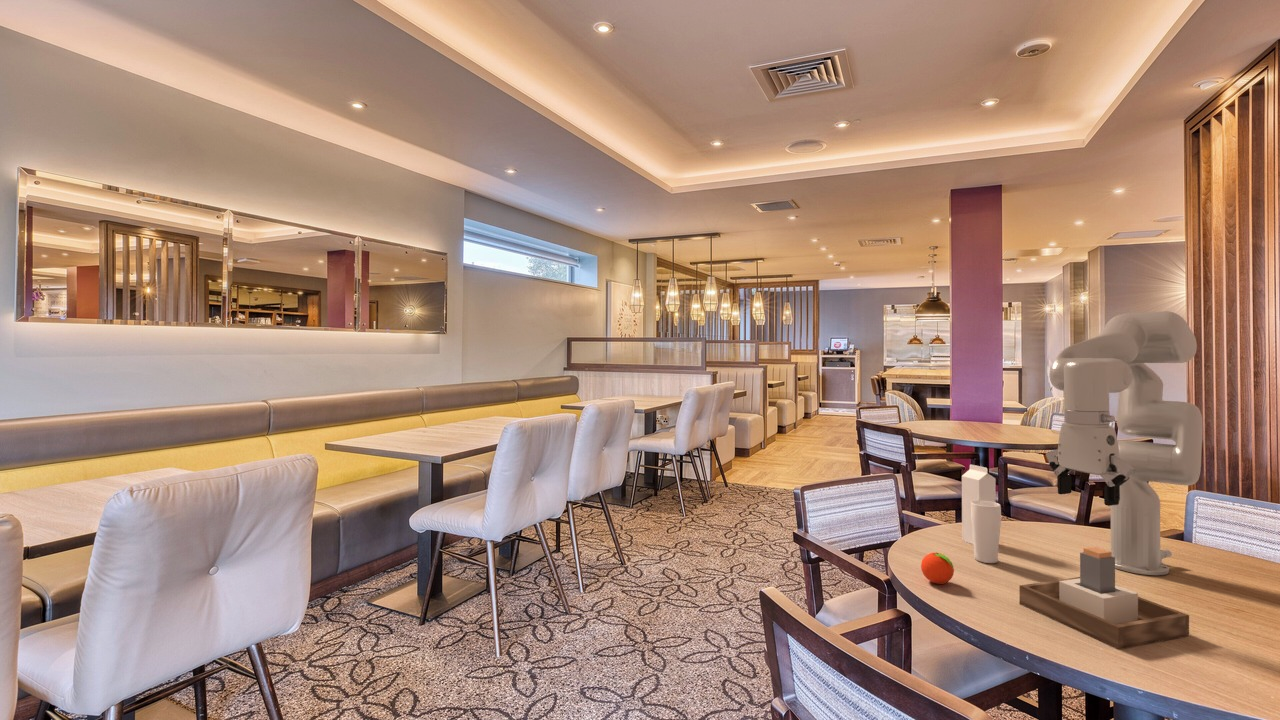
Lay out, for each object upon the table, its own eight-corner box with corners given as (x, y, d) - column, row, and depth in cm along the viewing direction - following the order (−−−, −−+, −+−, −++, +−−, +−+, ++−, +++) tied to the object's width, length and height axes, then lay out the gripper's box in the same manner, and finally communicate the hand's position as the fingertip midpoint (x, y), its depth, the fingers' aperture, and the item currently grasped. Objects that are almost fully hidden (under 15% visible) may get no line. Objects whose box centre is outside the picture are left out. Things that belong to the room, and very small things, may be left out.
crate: (1083, 594, 128) (1083, 576, 128) (1189, 636, 109) (1189, 615, 109) (1019, 603, 124) (1019, 585, 124) (1118, 649, 104) (1118, 627, 104)
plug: (1095, 598, 120) (1094, 546, 120) (1115, 606, 116) (1115, 552, 116) (1080, 600, 119) (1080, 547, 119) (1100, 608, 115) (1099, 554, 115)
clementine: (965, 587, 133) (964, 556, 133) (943, 592, 130) (943, 561, 130) (935, 575, 140) (935, 546, 140) (914, 579, 137) (914, 550, 137)
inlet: (1091, 601, 123) (1091, 576, 123) (1137, 620, 114) (1137, 593, 114) (1059, 606, 121) (1059, 581, 121) (1103, 626, 112) (1103, 598, 112)
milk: (979, 547, 160) (978, 468, 160) (961, 540, 166) (961, 464, 166) (996, 545, 162) (995, 467, 162) (978, 538, 168) (977, 463, 168)
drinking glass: (1005, 566, 146) (1005, 507, 146) (976, 564, 147) (976, 506, 147) (994, 556, 152) (994, 500, 152) (967, 555, 154) (966, 499, 154)
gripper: (1145, 422, 114) (1145, 507, 114) (1059, 413, 131) (1060, 488, 131) (1117, 424, 112) (1118, 511, 112) (1034, 415, 128) (1035, 491, 129)
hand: (1087, 499), depth 121 cm, fingers open, 9 cm apart
